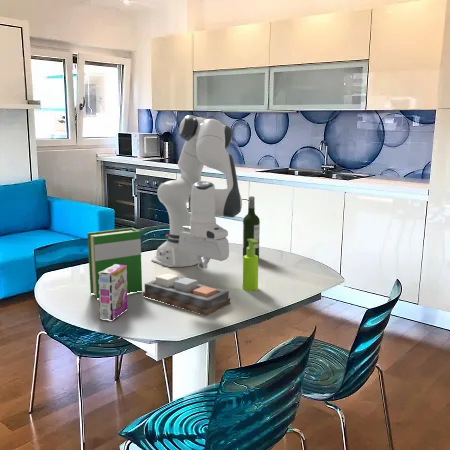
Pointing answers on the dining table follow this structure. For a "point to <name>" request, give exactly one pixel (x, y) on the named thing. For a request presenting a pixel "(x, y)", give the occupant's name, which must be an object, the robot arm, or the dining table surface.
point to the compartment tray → (187, 298)
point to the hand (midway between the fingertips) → (202, 268)
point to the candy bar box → (113, 291)
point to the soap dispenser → (250, 268)
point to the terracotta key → (205, 291)
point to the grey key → (185, 284)
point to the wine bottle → (251, 227)
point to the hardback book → (115, 256)
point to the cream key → (166, 280)
